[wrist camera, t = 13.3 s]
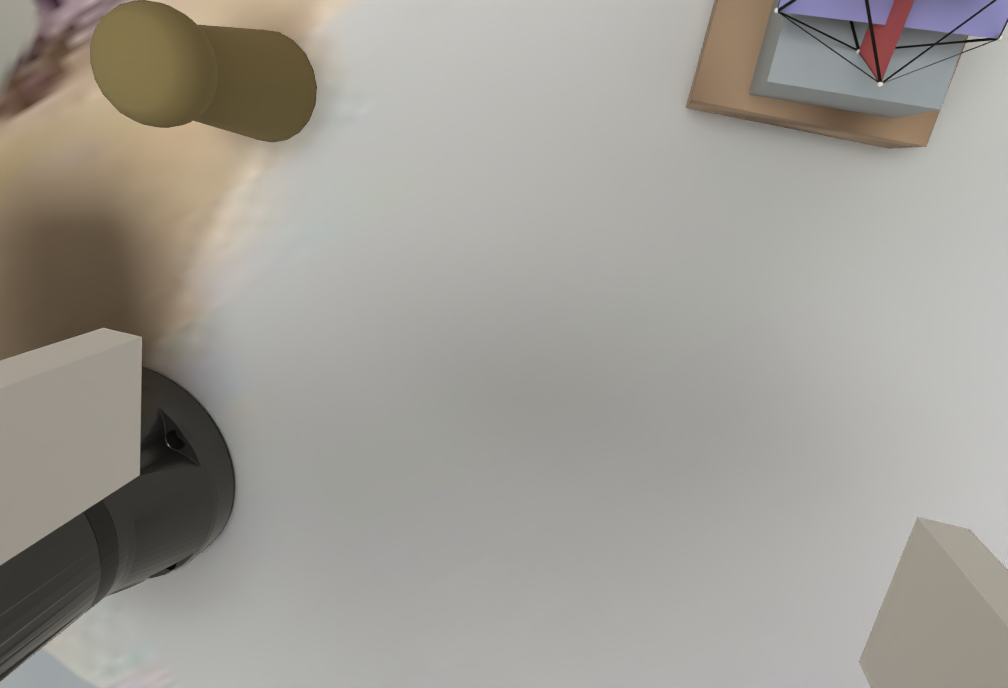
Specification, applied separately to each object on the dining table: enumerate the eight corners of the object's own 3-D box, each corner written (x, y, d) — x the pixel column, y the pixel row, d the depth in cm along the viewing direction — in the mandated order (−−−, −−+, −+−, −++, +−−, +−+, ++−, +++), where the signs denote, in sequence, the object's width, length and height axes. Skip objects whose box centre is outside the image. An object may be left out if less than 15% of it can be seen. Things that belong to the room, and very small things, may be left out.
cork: (251, 7, 37) (97, -52, 27) (335, 74, 37) (214, 41, 27) (203, 99, 39) (44, 78, 29) (284, 163, 39) (153, 165, 29)
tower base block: (685, 107, 35) (690, 99, 30) (745, -113, 32) (761, -161, 27) (887, 148, 33) (926, 146, 28) (969, -79, 30) (1028, -123, 25)
